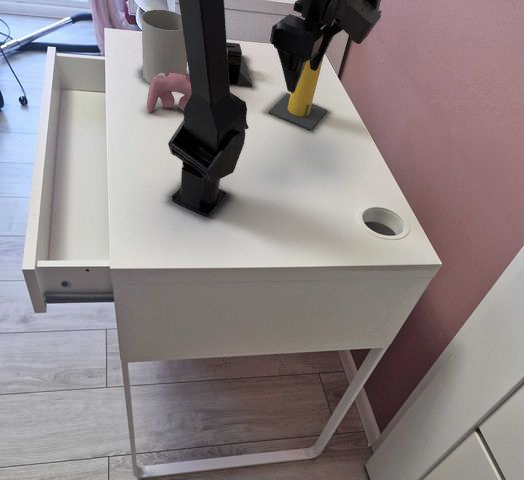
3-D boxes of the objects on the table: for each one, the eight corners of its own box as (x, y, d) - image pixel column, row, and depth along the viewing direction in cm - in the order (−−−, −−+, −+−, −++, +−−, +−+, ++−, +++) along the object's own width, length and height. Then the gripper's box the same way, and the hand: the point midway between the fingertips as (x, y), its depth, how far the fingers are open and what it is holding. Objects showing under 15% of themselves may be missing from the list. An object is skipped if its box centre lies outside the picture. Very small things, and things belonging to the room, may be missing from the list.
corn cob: (314, 115, 97) (332, 47, 87) (296, 118, 95) (312, 49, 85) (300, 102, 99) (316, 34, 89) (282, 105, 97) (296, 36, 87)
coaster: (310, 130, 94) (310, 128, 94) (268, 113, 96) (268, 111, 95) (327, 111, 100) (327, 109, 99) (286, 95, 101) (287, 93, 100)
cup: (194, 78, 99) (198, 22, 91) (169, 92, 94) (170, 35, 86) (160, 61, 100) (160, 5, 92) (133, 75, 95) (131, 17, 87)
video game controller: (202, 122, 93) (207, 80, 90) (199, 123, 89) (205, 79, 85) (149, 110, 92) (153, 68, 89) (144, 111, 88) (147, 66, 85)
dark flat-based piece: (211, 54, 106) (212, 30, 102) (244, 58, 107) (247, 34, 104) (217, 84, 99) (219, 59, 95) (253, 87, 100) (257, 63, 97)
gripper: (364, 1, 59) (328, 125, 71) (404, -36, 70) (367, 77, 82) (279, -31, 60) (259, 96, 73) (332, -62, 71) (307, 53, 84)
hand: (302, 80), depth 78 cm, fingers open, 9 cm apart
